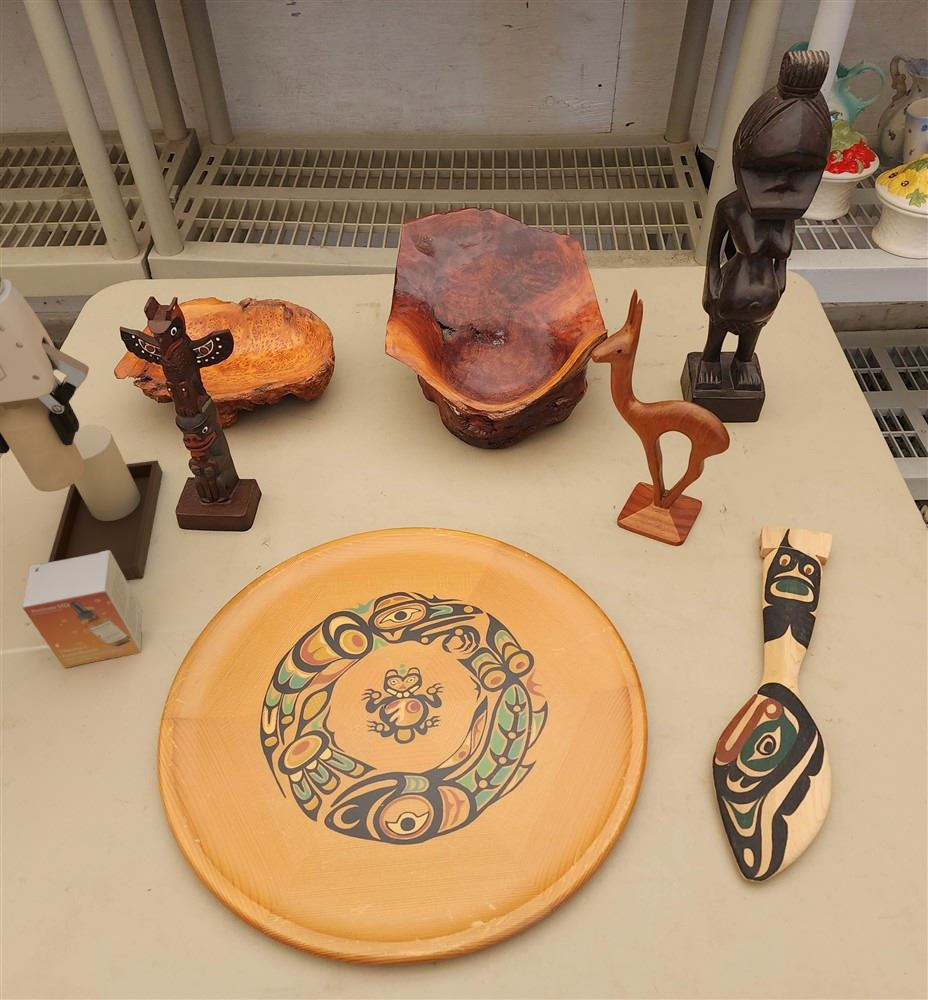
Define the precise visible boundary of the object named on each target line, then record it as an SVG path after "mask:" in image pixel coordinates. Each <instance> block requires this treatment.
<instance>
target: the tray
mask: <svg viewBox="0 0 928 1000" xmlns="http://www.w3.org/2000/svg"><path fill="white" fill-rule="evenodd" d="M125 464H126V466H127V468H128V470H129V472H130V474H131V476H132V478H133V480H134V482H135V484H136V486H137V488H138V490H139V493H140V502H139V504H138V506H137V507H136V509H135V510H134V511H133V512H131V513H130V514H129V515H127V516H125V517H123V518H121V519H118V520H114V521H101V520H98V519H96V518H94V517H93V516H92V514H91V512H90V511H89V509H88V507H87V505H86V503H85V502H84V500H83V498H82V496H81V494H80V493H79V491H78V489H77V487H76V485H75V484H72V485H70V486H69V489H68V492H67V496H66V500H65V504H64V506H63V510H62V513H61V517H60V520H59V523H58V527H57V531H56V535H55V537H54V541H53V544H52V548H51V552H50V555H49V558H48V561H47V563H49V562H54V561H59V560H65V559H70V558H75V557H80V556H85V555H90V554H95V553H99V552H102V551H107V550H110V551H111V553H112V555H113V557H114V558H115V560H116V562H117V564H118V566H119V568H120V570H121V572H122V573H123V575H124V577H125V579H126V581H127V582H128V581H135V580H142V579H144V575H145V571H146V565H147V561H148V554H149V550H150V543H151V538H152V533H153V526H154V522H155V516H156V511H157V505H158V501H159V495H160V489H161V483H162V478H163V474H164V472H163V470H162V467H161V465H160V463H159V460H157V459H156V460H149V461H142V462H133V463H125Z"/></svg>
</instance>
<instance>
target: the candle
mask: <svg viewBox="0 0 928 1000" xmlns="http://www.w3.org/2000/svg"><path fill="white" fill-rule="evenodd" d="M50 411H51V410H50V409H49V408H48V407H47V406H46V405H45V404H44V403H43V402H42V401H41V400H39V399H38V398H34V399H27V400H19V401H11V402H3V403H0V433H1V434H2V436H3V438H4V439H5V441H6V443H7V444H8V446H9V448H10V449H9V450H10V451H11V452H12V454H13V456H14V458H15V459H16V461H17V462H18V465H19V466H20V468H21V469H22V471H23V473H24V474H25V475H26V477H27V479H28V481H29V482H30V484H31V485H32V486H33V487H34V489H36V490H38V491H40V492H46V493H52V492H57V491H61V490H64V489H66V488H70V485H72V484H74V483H75V482H76V481H77V480H78V479H79V478H80V477H81V476H82V475H83V473H84V470H85V463H84V460H83V458H82V456H81V454H80V452H79V450H78V449H77V447H76V445H75V443H74V441H73V443H72V445H68V446H66V445H64V444H63V443H62V441H61V439H60V438H59V436H58V434H57V432H56V430H55V428H54V427H53V425H52V423H51V421H50V419H49V414H50Z"/></svg>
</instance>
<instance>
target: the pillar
mask: <svg viewBox="0 0 928 1000" xmlns="http://www.w3.org/2000/svg"><path fill="white" fill-rule="evenodd" d="M73 441H74V443H75V445H76V447H77V449H78V450H79V452H80V454H81V456H82V458H83V460H84V463H85V470H84V473H83V475H82V476H81V477H80V478H79V479H78V480H77V481H76V482H75V483H74V484H75V485H76V487H77V489H78V491H79V493H80V494H81V496H82V498H83V500H84V502H85V503H86V505H87V507H88V509H89V511H90V512H91V514H92V516H93V517H94V518H96V519H98V520H101V521H114V520H118V519H121V518H123V517H125V516H127V515H129V514H130V513H131V512H133V511H134V510H135V509H136V507H137V506H138V504H139V502H140V493H139V490H138V488H137V486H136V484H135V482H134V480H133V478H132V476H131V474H130V472H129V470H128V468H127V466H126V464H127V463H126V461H125V460H124V457H123V456H122V453H121V451H120V449H119V447H118V445H117V443H116V441H115V439H114V436H113V434H112V433H111V431H110V430H109V429H108V428H107V427H105V426H103V425H100V424H88V425H83V426H79V429H78V432H76V433H75V436H74V440H73Z"/></svg>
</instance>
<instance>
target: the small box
mask: <svg viewBox="0 0 928 1000" xmlns="http://www.w3.org/2000/svg"><path fill="white" fill-rule="evenodd" d="M48 562H49V561H48ZM48 562H44V563H43V562H42V563H36V564H31V565H29V570H28V576H27V581H26V585H25V592H24V597H23V604H22V609H23V611H24V613H25V614H26V616H27V617H28V618H29V620H30V621H31V623H32V624H33V626H34V627H35V628H36V630H37V631H38V633H39V634H40V636H41V637H42V639H43V640H44V641H45V643H46V644H47V646H48V647H49V649H50V651H51V652H52V653H53V654H54V656H55V657H56V659H57V660H58V662H59V664H60V665H61V666H62V667H63V668H64V669H66V668H70V667H75V666H79V665H84V664H88V663H93V662H98V661H103V660H109V659H113V658H118V657H123V656H129V655H136V654H140V653H141V649H142V636H143V632H142V623H143V609H142V607H141V605H140V604H139V601H138V599H137V598H136V596H135V593H134V592H133V590H132V588H131V586H130V585H129V582H128V581H126V579H125V577H124V575H123V573H122V572H121V570H120V568H119V566H118V564H117V562H116V560H115V558H114V557H113V555H112V553H111V551H110V550H107V551H102V552H99V553H95V554H90V555H85V556H80V557H75V558H70V559H65V560H59V561H54V562H49V563H48Z"/></svg>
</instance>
